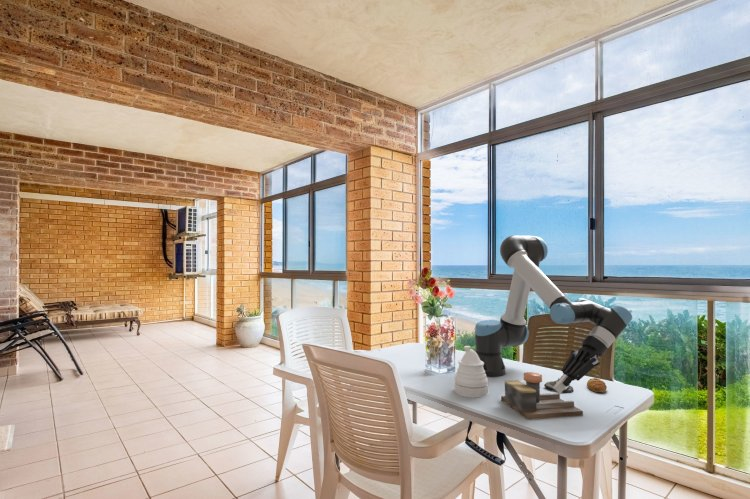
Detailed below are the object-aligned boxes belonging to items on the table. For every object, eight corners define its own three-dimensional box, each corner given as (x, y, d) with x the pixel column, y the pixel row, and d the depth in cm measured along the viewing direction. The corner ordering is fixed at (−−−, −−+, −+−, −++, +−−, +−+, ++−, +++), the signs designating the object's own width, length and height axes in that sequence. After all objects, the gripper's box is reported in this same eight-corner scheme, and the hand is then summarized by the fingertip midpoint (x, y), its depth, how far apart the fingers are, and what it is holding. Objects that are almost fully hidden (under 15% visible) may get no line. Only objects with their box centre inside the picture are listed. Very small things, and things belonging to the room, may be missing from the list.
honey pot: (471, 399, 147) (471, 351, 148) (447, 390, 158) (447, 345, 159) (495, 393, 154) (494, 347, 155) (471, 384, 165) (470, 341, 165)
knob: (520, 400, 141) (520, 372, 141) (536, 399, 142) (535, 371, 142) (529, 406, 135) (529, 377, 136) (546, 405, 136) (545, 376, 137)
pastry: (610, 394, 153) (609, 384, 153) (590, 393, 155) (590, 383, 155) (603, 387, 162) (603, 378, 162) (585, 386, 164) (585, 376, 164)
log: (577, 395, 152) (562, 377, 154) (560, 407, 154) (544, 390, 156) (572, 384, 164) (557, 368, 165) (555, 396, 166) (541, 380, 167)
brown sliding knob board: (501, 400, 146) (500, 378, 147) (550, 397, 150) (550, 375, 150) (527, 419, 129) (527, 394, 129) (582, 415, 132) (582, 390, 132)
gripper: (618, 352, 137) (575, 404, 134) (592, 345, 150) (552, 392, 147) (603, 338, 136) (560, 389, 133) (579, 331, 149) (539, 378, 146)
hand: (556, 390), depth 140 cm, fingers closed
